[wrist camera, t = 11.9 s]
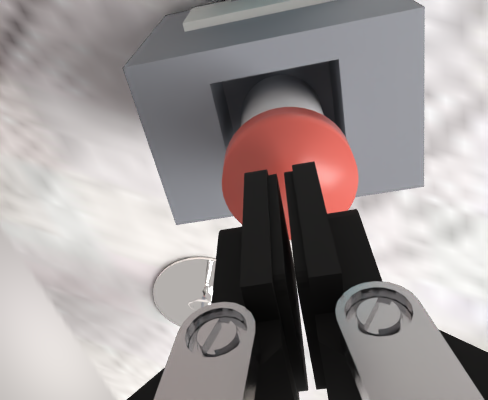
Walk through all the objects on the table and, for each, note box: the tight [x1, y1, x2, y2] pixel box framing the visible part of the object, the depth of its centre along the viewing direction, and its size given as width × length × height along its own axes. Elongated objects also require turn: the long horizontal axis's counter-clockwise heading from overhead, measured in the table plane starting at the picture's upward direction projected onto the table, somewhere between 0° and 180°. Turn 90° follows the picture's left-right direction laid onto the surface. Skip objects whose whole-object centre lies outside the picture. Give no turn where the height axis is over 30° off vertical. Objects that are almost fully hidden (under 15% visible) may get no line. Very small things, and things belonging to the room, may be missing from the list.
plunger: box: [222, 75, 358, 240], centre depth 14 cm, size 4×4×5 cm
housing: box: [123, 0, 425, 225], centre depth 19 cm, size 6×9×8 cm
